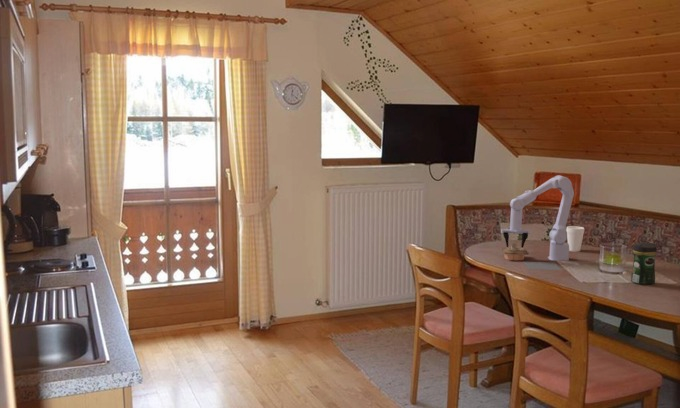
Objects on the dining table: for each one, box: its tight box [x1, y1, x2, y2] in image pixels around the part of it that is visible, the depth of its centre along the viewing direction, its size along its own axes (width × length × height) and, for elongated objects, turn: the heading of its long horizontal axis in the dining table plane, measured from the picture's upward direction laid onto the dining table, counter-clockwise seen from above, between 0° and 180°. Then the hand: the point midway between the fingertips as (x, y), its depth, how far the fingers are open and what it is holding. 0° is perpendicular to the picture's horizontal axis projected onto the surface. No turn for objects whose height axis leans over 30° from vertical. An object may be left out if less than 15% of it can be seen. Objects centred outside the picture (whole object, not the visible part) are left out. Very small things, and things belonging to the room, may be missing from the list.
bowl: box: [504, 254, 525, 261], centre depth 332 cm, size 10×10×4 cm
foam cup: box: [566, 225, 585, 253], centre depth 354 cm, size 10×9×13 cm
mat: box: [521, 260, 562, 271], centre depth 316 cm, size 16×16×1 cm
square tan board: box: [500, 242, 529, 256], centre depth 331 cm, size 12×12×4 cm
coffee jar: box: [630, 242, 658, 286], centre depth 286 cm, size 10×8×19 cm
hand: (514, 247), depth 331 cm, fingers open, 7 cm apart
